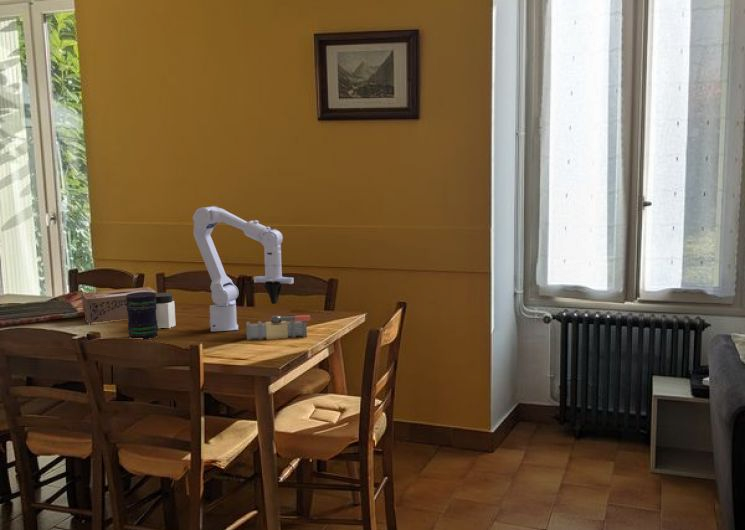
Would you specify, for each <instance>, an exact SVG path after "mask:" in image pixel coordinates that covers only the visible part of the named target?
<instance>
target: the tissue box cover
mask: <svg viewBox="0 0 745 530" xmlns="http://www.w3.org/2000/svg"><path fill="white" fill-rule="evenodd" d="M137 292H154V293H158V291H157V290H155V289H154V288H152V287H150V286H147V287H138V288H137V287H136V288H128V289H115V290H104V291H95V292H94V291H93V292H84V293H83V292H82V293H81V302H82V312H83V311H84V314H85V318H86V320H87V321H88V323H93V322H103V321H111V320H120V319H128V312H127V306H126V303H127V302H126V299H127V298H126V295H127V294H131V293H137ZM88 323H87V324H88Z"/></svg>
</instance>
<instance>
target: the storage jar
mask: <svg viewBox="0 0 745 530" xmlns="http://www.w3.org/2000/svg"><path fill="white" fill-rule="evenodd" d="M155 296H156V293H154V292H137V293H131V294H127V295H126V298H127V299H126V302H127V303H126V306H127V312H128V320H127V332H128V338H129V337H131V338H143V339H149V338H154V337H156V336H158V337H159V334H158V333H159V331H158V330H159V329H158V325H157V320H156V308H157V307H156V297H155ZM157 329H158V330H157ZM154 339H155V338H154Z"/></svg>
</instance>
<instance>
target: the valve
mask: <svg viewBox="0 0 745 530" xmlns="http://www.w3.org/2000/svg"><path fill="white" fill-rule="evenodd" d="M245 325H246V341H251V340H263V339H266V340H280V339H279V338H285V339H288V338H291V339H294V337H295V336H298V337H302V338H307V337H308V329H307V321H282V322H280V323H271V321H265V322H262V321H261V320H258V321H257V323H251V322H250V321H246V324H245ZM295 338H296V337H295Z"/></svg>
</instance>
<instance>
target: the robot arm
mask: <svg viewBox="0 0 745 530" xmlns="http://www.w3.org/2000/svg"><path fill="white" fill-rule="evenodd" d="M192 221H193V238H194V239H195V242H196V244H197V247H198V250H199V252H200V254H201V256H202V257H201V258H202V259H203V262H204V265H205V267H206V270H207V272H208V275H209V277H210V280H211V283H210V287H209V288H210V290H211V291H210V292H211V300H212V301H213V303H214V304H213V305H212V304H211V305H209V327H210V332H225V331H238V330H239V324H238V322H237V319H238V317H237V302H236V300H237V298H238V297H239V289H238V287H237V286H236V285H235V284H234V282H233V280H232V279H231V278H230V277H229V276H228V275H227V274H226V272H225V269H224V266H223V263H222V261H221V258H220V256H219V253H218V252H217V249H216V246H215V244H214V243H215V242H214V241H213V238H212V237H211V235H212V232H213V230H214V228H215V227H217V225H218V224H219V223H225V224H226V225H229V226H232V227H234V228H236V229H239V230H241V231H243V233H244V235H245V236H246V237H248V238H250V239H253V240H254V241H256V242H259V243H261V245H262V246H263V247H264V249H263V251H264V273H265V275H264V276H263V275H261V276H260V275H259V276H258V275H257V276H254V277H253V282H254V283H264V285H263V286H264V288H265V290H266V292H267V294H268V295H269V296H268V297H269V299H270V303H271V304H272V305H276V304H278V303H279V298H280V293H281V290H282V288H283V286H284V284H289V285H292V284H294V281H295V280H294V279H295V278H294V277H291V276H290V277H287V276H283V273H282V272H283V271H282V269H283V268H282V243H283V240H284V237H283V233H282V232H281V231H279V230H278V229H276V228H273V229H271V226H265V225H263V224H261V223H260V221H259V220H257V219H255V220H250V221H247V220H244V219H243V218H241V217H239V216H237V215H235V214H233V213H231V212H229V211H227V210H226V209H224V208H221V207H218V206H217V205H212V206H207V207H204V206H203V207H199V208H197V209H196V210H195V212H194V214H193V216H192Z"/></svg>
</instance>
